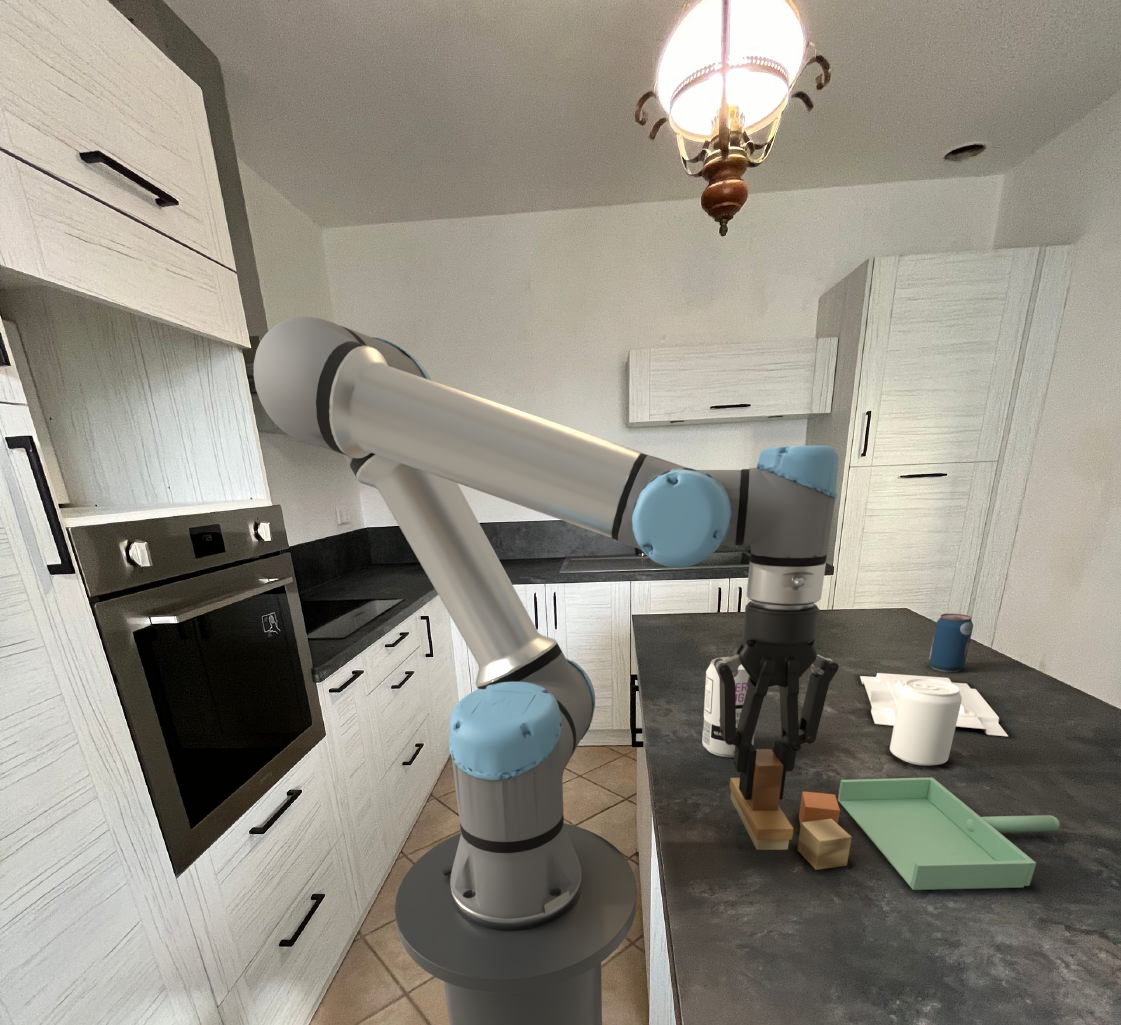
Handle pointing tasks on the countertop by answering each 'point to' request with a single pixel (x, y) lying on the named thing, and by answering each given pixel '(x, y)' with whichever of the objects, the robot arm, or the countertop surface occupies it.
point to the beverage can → (925, 721)
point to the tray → (972, 707)
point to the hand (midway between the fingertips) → (760, 793)
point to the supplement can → (712, 710)
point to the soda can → (950, 642)
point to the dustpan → (940, 834)
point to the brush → (764, 804)
